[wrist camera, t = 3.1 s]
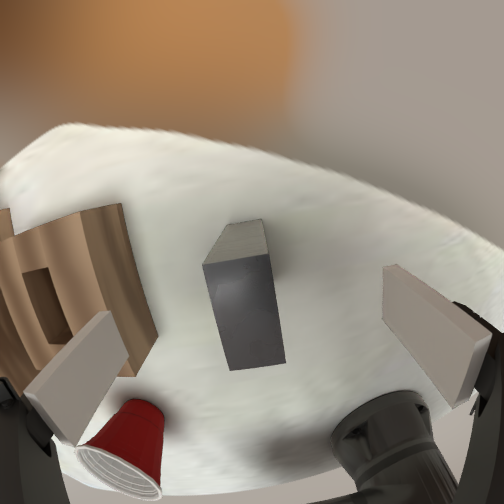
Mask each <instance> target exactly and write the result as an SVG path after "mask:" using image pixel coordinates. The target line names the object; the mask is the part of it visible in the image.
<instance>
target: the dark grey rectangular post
mask: <svg viewBox="0 0 504 504" xmlns="http://www.w3.org/2000/svg"><path fill="white" fill-rule="evenodd" d="M202 266H203V270H204V275H205V279H206V283H207V287H208V291H209V295H210V299H211V303H212V307H213V311H214V315H215V319H216V323H217V326H218V330H219V334H220V338H221V341H222V345H223V349H224V352H225V356H226V359H227V363H228V366H229V370H230V371H233V370H242V369H250V368H257V367H264V366H271V365H278V364H284V363H286V359H285V352H284V346H283V339H282V333H281V326H280V320H279V313H278V307H277V300H276V294H275V288H274V282H273V276H272V270H271V263H270V257H269V252H268V247H267V243H266V238H265V234H264V229H263V225H262V220H261V219H257V220H252V221H246V222H240V223H235V224H229V225H227V226H226V227H225V229H224V231H223V232H222V234H221V235H220V237H219V238H218V240H217V242H216V243H215V245H214V246H213V248H212V250H211V251H210V253H209V254H208V256H207V258H206V259H205V261H204V263H203V264H202Z"/></svg>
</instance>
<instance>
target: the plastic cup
mask: <svg viewBox="0 0 504 504" xmlns="http://www.w3.org/2000/svg"><path fill="white" fill-rule="evenodd" d="M163 432H164V416H163V414H162V412H161V411H160V410H159V409H158V408H157V407H156V406H154V405H152V404H151V403H149V402H147V401H143V400H140V399H132V400H129V401H127V402H126V403H125V404H124V405H123V406H122V407H121V408H120V410H119V411H118V412H117V413H116V414H114V415H113V416H112V418H111V419H110V420H109V421H108V422H107V423H106V424H105V425H104V427H103V428H102V429H101V430H100V431H99V432H98V433H97V434H96V435H95V437H92V438H91V439H90V440H89V441H87V442H86V443H85V444H83V445H78V446H77V447H76V448H75V451H74V453H75V455H76V457H77V460H78V461H79V462H80V463H81V465H82V466H83V467H84V468H85V469H86V470H87V471H88V472H89V473H90V474H92V475H93V476H94V477H95V478H97V479H98V480H99V481H101V482H102V483H104V484H106V485H107V486H109V487H111V488H112V489H114V490H116V491H119V492H121V493H123V494H126V495H128V496H130V497H134V498H138V499H141V500H149V501H156V500H159V499H161V498H162V489H161V487H160V477H161V471H160V470H161V459H162V449H163Z"/></svg>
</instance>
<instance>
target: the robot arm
mask: <svg viewBox="0 0 504 504" xmlns="http://www.w3.org/2000/svg"><path fill="white" fill-rule="evenodd" d="M382 320H383V321H384V322H385V323H386V324H387V326H388V327H389V328H390V329H391V330H392V332H393V333H394V334H395V335H396V336H397V338H398V339H399V340H400V341H401V343H402V344H403V345H404V346H405V348H406V349H407V350H408V351H409V353H410V354H411V355H412V356H413V358H414V359H415V360H416V361H417V363H418V364H419V365H420V366H421V368H422V369H423V370H424V372H425V373H426V374H427V376H428V377H429V378H430V379H431V381H432V382H433V383H434V385H435V386H436V387H437V389H438V390H439V391H440V393H441V394H442V395H443V397H444V398H445V400H446V401H447V402H448V404H449V405H450V406H451V408H452V409H453V408H455V407H457V406H459V405H461V404H463V403H465V402H466V401H468V400H469V398H470V396H471V394H472V391H473V389H474V387H475V389H476V390H477V391H478V392H479V395H478V397H477V399H476V401H475V404H474V406H473V408H472V410H471V412H470V415H472V414H473V412H474V410H475V415H474V422H473V428H472V433H471V438H470V443H469V448H468V452H467V457H466V461H465V464H464V468H463V472H462V475H461V478H460V482H459V484H458V483H457V481H456V479H455V477H454V475H453V473H452V472H451V470H450V468H449V466H448V465H447V463H446V461H445V459H444V457H443V456H442V454H441V452H440V451H439V449H438V447H437V445H436V444H435V442H434V439H433V432H432V426H431V419H430V413H429V409H428V406H427V405H426V403H425V402H424V400H423V399H422V397H421V396H420V395H419V394H417V393H415V392H412V391H400V392H394V393H390V394H387V395H384V396H381V397H379V398H376V399H374V400H372V401H370V402H368V403H366V404H364V405H363V406H361V407H359V408H358V409H356V410H355V411H354V412H352V413H351V414H350V415H348V416H347V417H346V418H345V419H344V420H343V421H342V422H341V423H340V424H339V425H338V426H337V428H336V429H335V431H334V432H333V434H332V437H331V446H332V449H333V453H334V456H335V458H336V459H337V460H338V462H339V463H340V464H341V465H342V466H343V468H344V469H345V470H346V471H347V473H348V474H349V475H350V476H351V477H352V479H353V480H354V481H355V484H356V487H357V491H358V492H356V493H353V494H349V495H346V496H341V497H337V498H333V499H329V500H324V501H319V502H314V503H308V504H504V333H501V332H500V331H499V330H497V329H496V328H495V327H494V326H492V325H491V324H490V323H488V322H487V321H486V320H484V319H483V318H482V317H481V318H480V316H479V315H478V314H476V313H475V312H474V313H473V311H472V310H471V309H470V308H468V307H467V306H465V305H463V304H460V303H458V302H455V301H454V302H451V301H449V300H448V299H447V298H445V297H444V296H442V295H441V294H440V293H438V292H437V291H435V290H434V289H433V288H431V287H430V286H428V285H427V284H426V283H424V282H423V281H421V280H420V279H418V278H417V277H415V276H414V275H412V274H411V273H409V272H408V271H406V270H405V269H403V268H402V267H400V266H399V265H397V264H395V265H390V266H385V267H383V308H382ZM128 357H129V354H128V352H127V350H126V348H125V345H124V343H123V341H122V338H121V336H120V333H119V331H118V329H117V326H116V324H115V321H114V318H113V316H112V313H111V311H100V312H98V313H97V314H96V315H95V316H94V317H93V318H92V319H91V320H90V321H89V322H88V323H87V324H86V325H85V326H84V327H83V328H82V329H81V330H80V331H79V332H78V333H77V334H76V335H75V336H74V337H73V338H72V339H71V340H70V341H69V342H68V343H67V344H66V345H65V346H64V347H63V348H62V349H61V350H60V351H59V352H58V353H57V355H56V356H55V357H54V358H53V359H52V360H51V361H50V362H49V363H48V364H47V365H46V366H45V367H44V368H43V370H42V371H41V372H40V373H39V374H38V375H37V376H36V377H35V378H34V380H33V381H32V382H31V383H30V384H29V385H28V386H27V387H26V389H25V390H24V391H23V392H24V393H23V394H22V395H21V397H19V395H18V394H17V392H16V391H15V389H14V387H13V386H12V384H11V383H10V381H9V379H8V378H7V377H0V504H70V502H69V499H68V495H67V492H66V488H65V485H64V481H63V478H62V473H61V469H60V465H59V460H58V455H57V450H56V445H55V443H54V441H53V440H52V439H51V437H52V436H53V434H54V435H55V436H56V437H57V438H58V439H59V441H60V442H61V443H62V444H65V445H68V446H71V447H76V445H77V444H78V442H79V440H80V438H81V436H82V434H83V433H84V431H85V429H86V427H87V426H88V424H89V422H90V420H91V419H92V417H93V415H94V413H95V412H96V410H97V408H98V406H99V405H100V403H101V401H102V400H103V398H104V396H105V395H106V393H107V391H108V390H109V388H110V386H111V385H112V383H113V381H114V380H115V378H116V376H117V375H118V373H119V371H120V370H121V368H122V367H123V365H124V363H125V362H126V360H127V359H128Z"/></svg>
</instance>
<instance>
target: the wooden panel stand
mask: <svg viewBox="0 0 504 504" xmlns="http://www.w3.org/2000/svg"><path fill="white" fill-rule="evenodd" d="M100 311H111V313H112V316H113V318H114V321H115V324H116V326H117V329H118V331H119V333H120V336H121V338H122V341H123V343H124V345H125V348H126V350H127V352H128V354H129V357H128V359H127V360H126V362H125V363H124V365H123V367H122V368H121V370H120V371H119V373H118V375H117V376H116V377H136V375H137V373H138V371H139V370H140V368H141V366H142V364H143V363H144V361H145V359H146V357H147V355H148V354H149V352H150V350H151V348H152V347H153V345H154V343H155V341H156V340H157V338H158V334H157V331H156V328H155V325H154V323H153V320H152V317H151V314H150V311H149V308H148V305H147V302H146V298H145V295H144V292H143V289H142V285H141V282H140V279H139V275H138V272H137V268H136V264H135V261H134V257H133V253H132V249H131V245H130V241H129V237H128V233H127V229H126V224H125V220H124V215H123V210H122V205H121V203H119V204H113V205H108V206H103V207H98V208H94V209H89V210H84V211H80V212H77V213H74V214H71V215H68V216H65V217H62V218H59V219H57V220H54V221H51V222H48V223H46V224H43V225H40V226H38V227H35V228H33V229H30V230H27V231H25V232H23V233H20V234H18V235H15V236H14V232H13V227H12V221H11V216H10V210H9V208H7V209H2V210H0V377H7V378H8V379H9V381H10V383H11V384H12V386H13V387H14V389H15V391H16V392H17V394H18V395H19V397H21V395H22V394H23V393H24V392H23V391H24V390H25V389H26V387H27V386H28V385H29V384H30V383H31V382H32V381H33V380H34V378H35V377H36V376H37V375H38V374H39V373H40V372H41V371H42V370H43V368H44V367H45V366H46V365H47V364H48V363H49V362H50V361H51V360H52V359H53V358H54V357H55V356H56V355H57V353H58V352H59V351H60V350H61V349H62V348H63V347H64V346H65V345H66V344H67V343H68V342H69V341H70V340H71V339H72V338H73V337H74V336H75V335H76V334H77V333H78V332H79V331H80V330H81V329H82V328H83V327H84V326H85V325H86V324H87V323H88V322H89V321H90V320H91V319H92V318H93V317H94V316H95V315H96V314H97V313H98V312H100Z"/></svg>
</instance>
